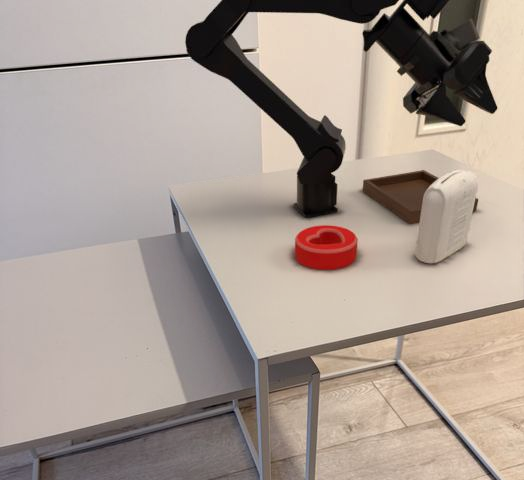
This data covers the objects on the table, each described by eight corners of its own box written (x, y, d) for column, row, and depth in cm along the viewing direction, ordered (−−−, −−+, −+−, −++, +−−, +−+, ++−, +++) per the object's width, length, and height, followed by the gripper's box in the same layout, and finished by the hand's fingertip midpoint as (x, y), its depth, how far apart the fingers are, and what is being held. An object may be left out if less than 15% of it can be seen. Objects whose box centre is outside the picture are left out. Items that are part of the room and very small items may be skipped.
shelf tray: (409, 224, 93) (411, 211, 92) (362, 191, 107) (363, 179, 105) (476, 211, 96) (478, 199, 95) (422, 181, 110) (423, 169, 109)
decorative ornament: (350, 272, 80) (352, 253, 78) (288, 266, 83) (288, 247, 81) (360, 245, 87) (362, 226, 85) (303, 239, 90) (303, 221, 88)
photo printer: (445, 237, 88) (459, 161, 81) (470, 244, 86) (485, 167, 78) (410, 258, 83) (420, 179, 75) (434, 267, 80) (448, 186, 73)
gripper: (477, -26, 72) (550, 58, 76) (417, 26, 90) (478, 92, 94) (424, 41, 73) (500, 121, 77) (375, 80, 91) (438, 143, 95)
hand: (478, 117), depth 86 cm, fingers open, 9 cm apart
